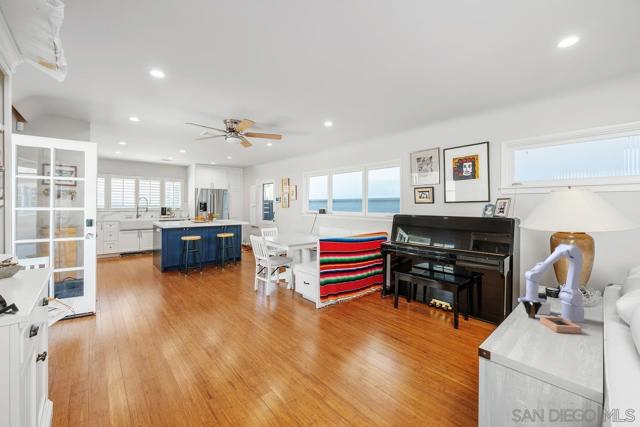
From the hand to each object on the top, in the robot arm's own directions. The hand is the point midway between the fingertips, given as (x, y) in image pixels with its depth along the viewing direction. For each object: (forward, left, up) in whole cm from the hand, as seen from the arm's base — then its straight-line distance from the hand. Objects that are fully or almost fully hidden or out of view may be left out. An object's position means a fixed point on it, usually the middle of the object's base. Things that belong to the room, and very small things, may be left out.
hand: (531, 314), depth 159 cm
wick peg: (0, 0, -2) cm, 2 cm away
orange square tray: (-6, +13, -2) cm, 14 cm away
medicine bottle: (-11, -9, -2) cm, 14 cm away
